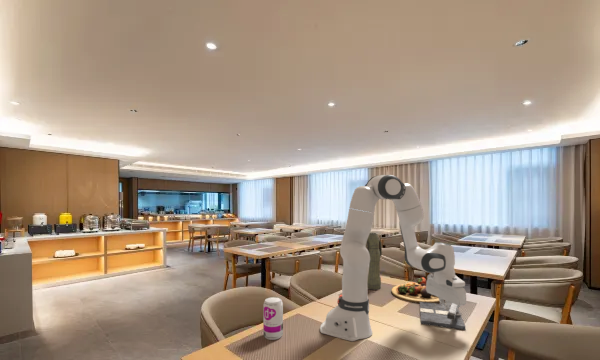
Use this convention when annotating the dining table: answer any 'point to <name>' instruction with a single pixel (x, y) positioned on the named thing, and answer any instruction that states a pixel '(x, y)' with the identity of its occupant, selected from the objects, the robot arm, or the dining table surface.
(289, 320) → the dining table surface
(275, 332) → the supplement can
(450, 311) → the swing bar
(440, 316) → the board
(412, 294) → the wooden plate with food
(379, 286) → the dark olive tall piece
